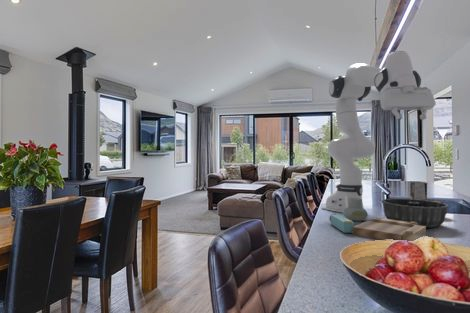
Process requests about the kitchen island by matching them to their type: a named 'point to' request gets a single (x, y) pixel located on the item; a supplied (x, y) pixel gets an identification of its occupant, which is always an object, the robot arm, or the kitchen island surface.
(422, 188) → the coffee box
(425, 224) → the bundt pan
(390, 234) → the tan box with knobs
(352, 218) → the air freshener
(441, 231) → the kitchen island surface
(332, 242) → the kitchen island surface
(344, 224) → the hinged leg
